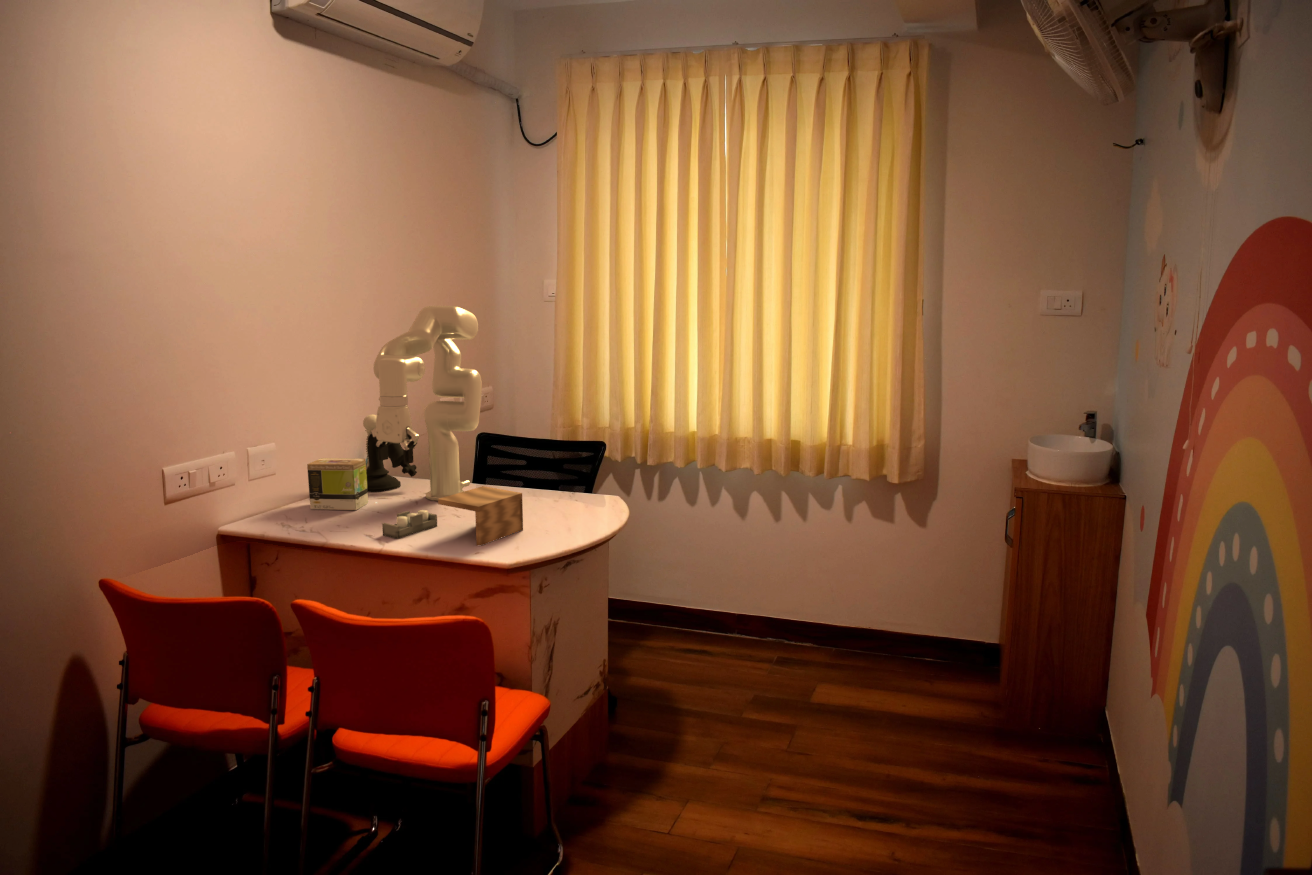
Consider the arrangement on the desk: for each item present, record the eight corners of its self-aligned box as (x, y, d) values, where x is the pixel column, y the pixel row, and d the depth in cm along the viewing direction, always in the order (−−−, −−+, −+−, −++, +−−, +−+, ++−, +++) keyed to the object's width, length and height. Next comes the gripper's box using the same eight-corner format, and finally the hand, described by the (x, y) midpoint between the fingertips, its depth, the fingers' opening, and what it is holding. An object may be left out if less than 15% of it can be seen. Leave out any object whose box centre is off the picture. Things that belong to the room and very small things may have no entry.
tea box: (369, 503, 292) (366, 457, 289) (355, 511, 282) (353, 464, 279) (323, 501, 293) (321, 456, 290) (309, 509, 283) (306, 463, 280)
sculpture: (374, 480, 323) (370, 410, 318) (430, 486, 314) (427, 414, 309) (344, 489, 309) (340, 416, 304) (402, 496, 300) (399, 421, 295)
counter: (483, 522, 270) (482, 486, 268) (523, 530, 262) (522, 492, 260) (439, 537, 255) (438, 498, 253) (479, 545, 247) (478, 506, 245)
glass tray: (382, 535, 257) (381, 518, 256) (422, 523, 269) (421, 506, 268) (397, 538, 253) (396, 521, 252) (437, 526, 266) (436, 509, 265)
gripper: (361, 401, 259) (364, 460, 261) (406, 405, 250) (408, 466, 253) (381, 398, 265) (383, 456, 268) (426, 402, 257) (428, 462, 259)
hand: (395, 461), depth 260 cm, fingers open, 9 cm apart
